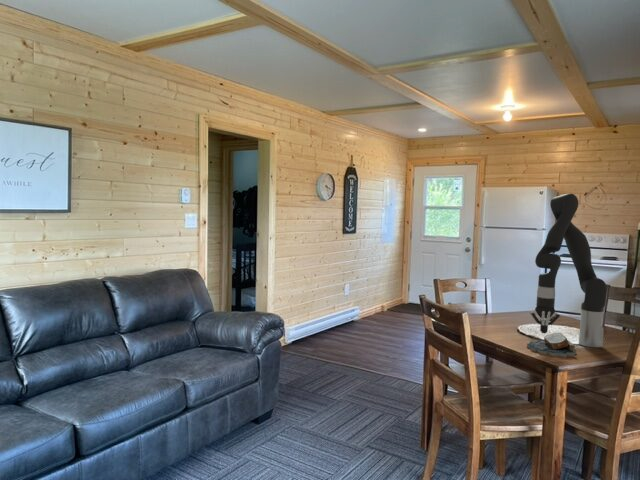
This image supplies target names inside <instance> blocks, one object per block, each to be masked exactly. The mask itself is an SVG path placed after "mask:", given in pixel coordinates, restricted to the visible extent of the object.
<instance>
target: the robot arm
mask: <svg viewBox="0 0 640 480" xmlns="http://www.w3.org/2000/svg"><path fill="white" fill-rule="evenodd" d="M578 208H579V199H578V197H577V196H576V195H575V194H574V193H565V194H561V195H558V196H554V197H553V198H551V200H550V209H551V211H552V214H553V216H554V219H555V220H556V221H555V223H554V224H553V225H552V227H551V228H550V229H549V230H548V232H547V235H546V239H545V241H544V243H543V246H542V247H541V249H540V250H539V251H538V253H537V255H536V256H535V260H534V262H535V265H536V267H537V268H541V269H546V270H547V269H548V270H549V271H548V272H544V273H540V274H539V275H538V284H537V285H538V286H537V291H536V304H535V305H536V306H535V308H534V310H533V311H530V312H529V314H530V316H531V317H532V318H533V320H534V321H535V322H536V323H537V325H538V324H539V325H540V327H539V329H540V332H541V334H546V333H548V329H549V326H550V325H553V324H554V323H555V322H556V321H557V320H558V319H559V318H560V315H561V314H559V313H557V312H556V309H555V302H556V301H555V299H556V278H557V276H558V272H559V269H560V267H561V264H562V259H561V256H560V255H559V254H556V253H557V252H560V250H561V249H562V244H563V241H565V246H566V248H567V250H568V253H569V255H570V257H571V261H572V263H573V265H574V268H575V270H576V273H577V278H578V282H579V286H580V289H581V291H582V292H583V293H584V300H583V302H581V305H580V306H581V307H580V319H579V321H580V322H579V331H578V332H579V335H578V345H581V346H583V347H588V348H603V344H604V343H603V342H604V330H605V329H604V327H603V317H604V308H605V305H606V301H607V290H608V288H607V284H606V282H605V281H604V280H603V279H601V278H599V277H598V276H597V274H596V272H595V270H594V267H593V265H592V251H591V247H590V244H589V241H588V239H587V236H586V235H585V234H584V233H583V231H581V230H580V229H579V228H578V227H577V226H576V225H574V224H573V222H572V221H573V218H574V216H575V214H576V212H577V210H578ZM537 316H538V317H539V318H538V317H537Z"/></svg>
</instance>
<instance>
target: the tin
mask: <svg viewBox="0 0 640 480" xmlns="http://www.w3.org/2000/svg"><path fill="white" fill-rule="evenodd" d="M543 339H544V342H545V343H546V344H547V345H548V346H549V348H551V349H558V348H563V347H565V346H567V345H568V344H569V342H568V341H569V339H568V337H566V336H565V335H564V334H562V333H561V332H554V333H550V334H547V335H545V336H544V337H543Z"/></svg>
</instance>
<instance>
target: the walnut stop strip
mask: <svg viewBox="0 0 640 480" xmlns="http://www.w3.org/2000/svg"><path fill="white" fill-rule="evenodd" d="M568 342H569V344H568V345H567V346H565V347H566V348H567V349H568V350H570V351H574V350H576V345H575V344H573V342H571V341H570V340H568Z"/></svg>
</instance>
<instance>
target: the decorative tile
mask: <svg viewBox="0 0 640 480" xmlns="http://www.w3.org/2000/svg"><path fill="white" fill-rule="evenodd" d="M526 348H527V349H529V350H530V351H531V352H534V353H535V352H536V353H538V354H539V355H546V356H550V357H553V358H554V357H561V358H565V359H566V358H567V357H575V355H576V354H577V349H575V350H574V351H570V350H568V349H567V348H566V347H563V348H558V349H551V348H549V346H548V345H547V344H546V343H545V340H544V341H543V340H537V341H529V343H526Z"/></svg>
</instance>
